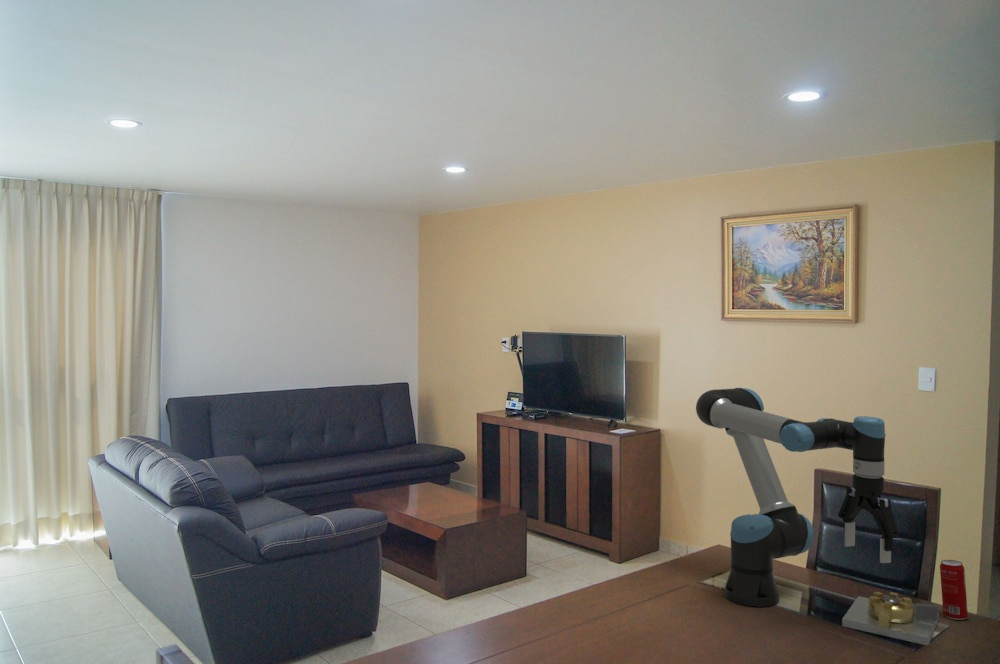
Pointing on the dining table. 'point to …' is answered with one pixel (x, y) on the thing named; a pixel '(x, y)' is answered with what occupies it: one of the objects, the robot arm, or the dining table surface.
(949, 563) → the beverage can
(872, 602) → the gold knob with handle
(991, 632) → the dining table surface
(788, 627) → the dining table surface
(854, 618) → the flange plate
